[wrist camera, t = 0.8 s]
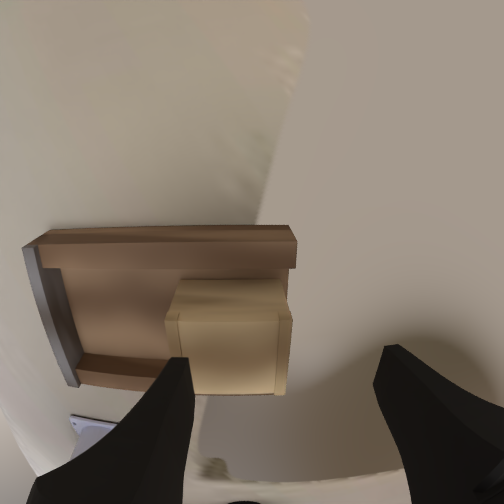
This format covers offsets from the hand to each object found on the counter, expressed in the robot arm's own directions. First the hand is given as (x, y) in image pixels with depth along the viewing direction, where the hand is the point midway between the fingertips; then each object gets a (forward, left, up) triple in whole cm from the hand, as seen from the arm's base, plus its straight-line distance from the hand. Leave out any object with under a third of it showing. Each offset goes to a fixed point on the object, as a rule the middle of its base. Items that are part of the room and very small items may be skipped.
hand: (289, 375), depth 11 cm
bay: (-3, +7, -10) cm, 12 cm away
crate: (-3, +2, -8) cm, 9 cm away
